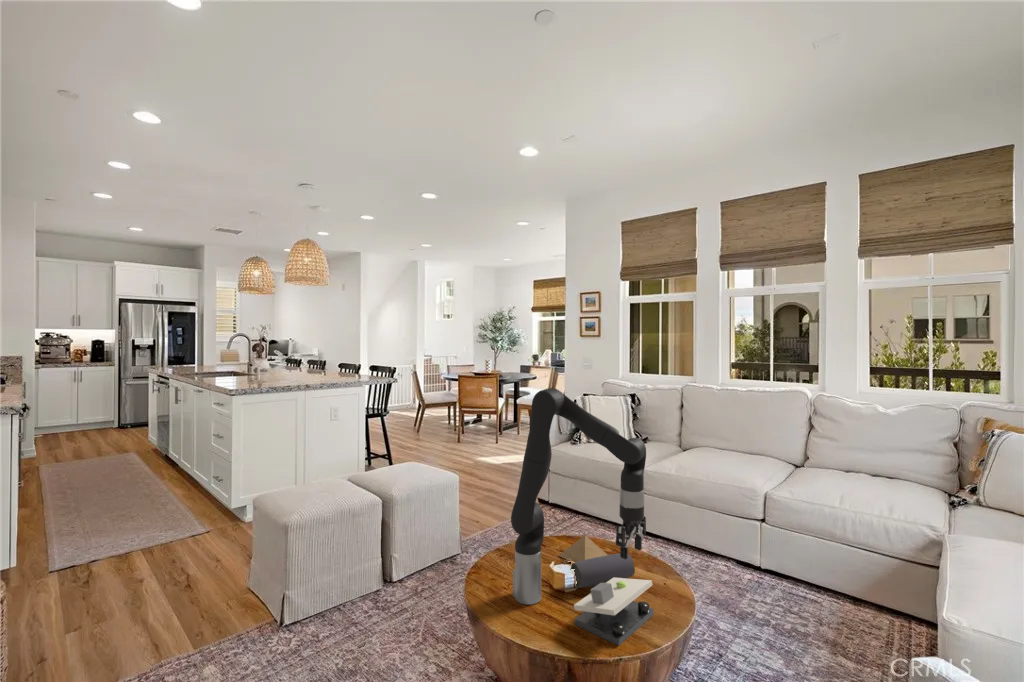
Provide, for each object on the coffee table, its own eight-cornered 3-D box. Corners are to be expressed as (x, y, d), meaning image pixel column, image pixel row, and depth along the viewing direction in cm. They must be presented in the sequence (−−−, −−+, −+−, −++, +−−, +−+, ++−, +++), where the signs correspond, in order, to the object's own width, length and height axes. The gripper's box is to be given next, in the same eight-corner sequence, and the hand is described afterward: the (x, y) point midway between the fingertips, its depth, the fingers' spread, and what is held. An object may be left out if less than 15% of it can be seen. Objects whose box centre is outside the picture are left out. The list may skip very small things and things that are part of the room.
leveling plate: (575, 613, 159) (571, 591, 160) (615, 585, 177) (611, 565, 178) (615, 619, 149) (610, 596, 150) (653, 588, 167) (648, 567, 168)
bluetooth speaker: (621, 572, 195) (621, 547, 195) (635, 584, 186) (635, 557, 186) (569, 583, 187) (569, 557, 187) (581, 596, 178) (581, 568, 178)
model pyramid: (555, 557, 209) (555, 533, 209) (585, 546, 219) (585, 523, 219) (583, 573, 196) (583, 547, 196) (614, 560, 206) (614, 536, 206)
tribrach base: (574, 624, 161) (574, 605, 161) (611, 597, 177) (611, 580, 177) (618, 646, 150) (618, 625, 150) (653, 614, 166) (653, 596, 166)
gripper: (632, 494, 165) (632, 543, 166) (609, 505, 155) (608, 557, 156) (653, 500, 160) (653, 550, 161) (630, 512, 150) (629, 565, 150)
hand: (631, 553), depth 158 cm, fingers open, 8 cm apart
